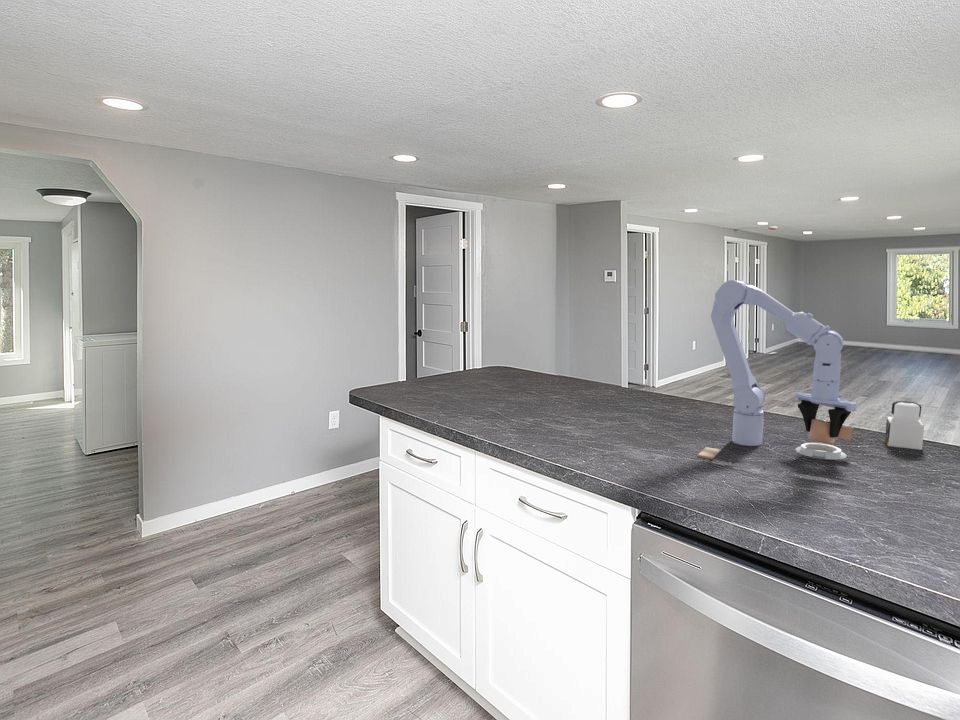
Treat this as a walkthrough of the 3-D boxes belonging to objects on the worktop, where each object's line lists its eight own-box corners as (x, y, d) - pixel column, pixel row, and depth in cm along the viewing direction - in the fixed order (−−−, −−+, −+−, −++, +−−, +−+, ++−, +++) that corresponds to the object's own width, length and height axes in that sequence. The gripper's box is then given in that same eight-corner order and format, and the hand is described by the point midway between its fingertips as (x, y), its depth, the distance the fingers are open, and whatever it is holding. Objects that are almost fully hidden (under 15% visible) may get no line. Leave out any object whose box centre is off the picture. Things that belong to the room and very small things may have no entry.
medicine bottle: (884, 442, 153) (888, 398, 151) (917, 445, 149) (922, 401, 148) (887, 448, 147) (891, 403, 145) (921, 452, 143) (926, 406, 142)
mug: (807, 439, 141) (811, 419, 140) (809, 436, 145) (812, 417, 145) (849, 447, 136) (853, 426, 135) (849, 444, 140) (853, 424, 140)
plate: (797, 446, 149) (798, 439, 149) (847, 453, 143) (848, 445, 143) (792, 457, 141) (793, 449, 140) (844, 465, 134) (845, 457, 134)
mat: (705, 448, 148) (705, 447, 148) (738, 454, 144) (738, 452, 143) (697, 456, 142) (697, 454, 142) (731, 462, 137) (732, 460, 137)
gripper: (788, 377, 144) (784, 428, 146) (844, 386, 131) (840, 443, 133) (806, 374, 147) (802, 425, 149) (864, 384, 134) (859, 439, 136)
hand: (821, 433), depth 141 cm, fingers closed on mug, 6 cm apart
